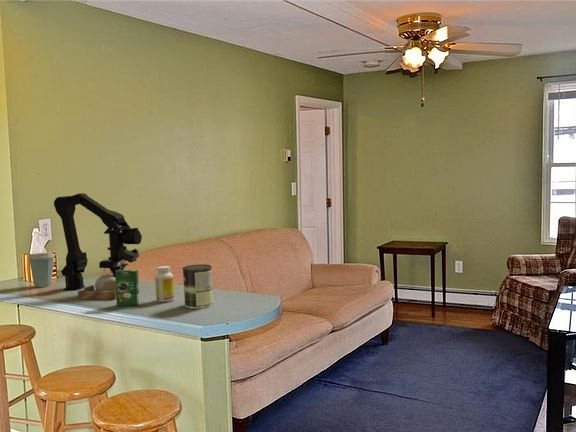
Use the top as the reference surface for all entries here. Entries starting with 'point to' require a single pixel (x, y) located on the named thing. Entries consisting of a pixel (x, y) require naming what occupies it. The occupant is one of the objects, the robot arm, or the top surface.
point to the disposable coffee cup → (42, 268)
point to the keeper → (96, 294)
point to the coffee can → (198, 286)
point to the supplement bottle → (164, 284)
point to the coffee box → (127, 287)
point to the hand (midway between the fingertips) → (119, 281)
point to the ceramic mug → (105, 283)
